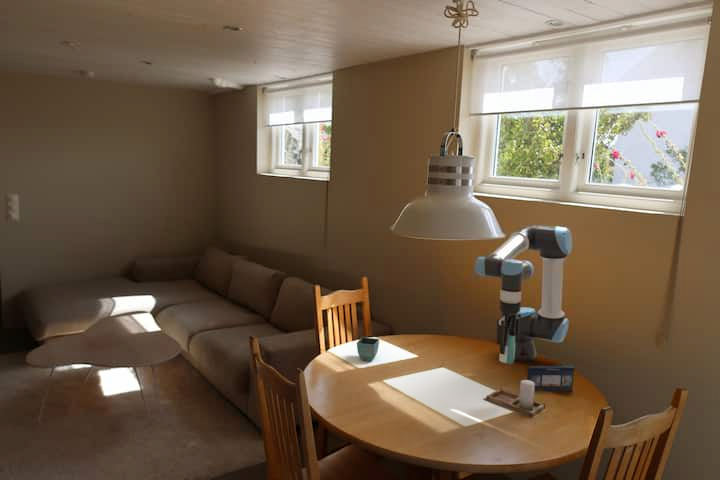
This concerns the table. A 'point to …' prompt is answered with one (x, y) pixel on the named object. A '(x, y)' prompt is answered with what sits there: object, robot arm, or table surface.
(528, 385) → the white cylinder
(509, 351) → the teal rounded cylinder
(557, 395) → the table surface
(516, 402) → the rack
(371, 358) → the flower pot
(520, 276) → the robot arm
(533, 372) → the vhs cassette tape
